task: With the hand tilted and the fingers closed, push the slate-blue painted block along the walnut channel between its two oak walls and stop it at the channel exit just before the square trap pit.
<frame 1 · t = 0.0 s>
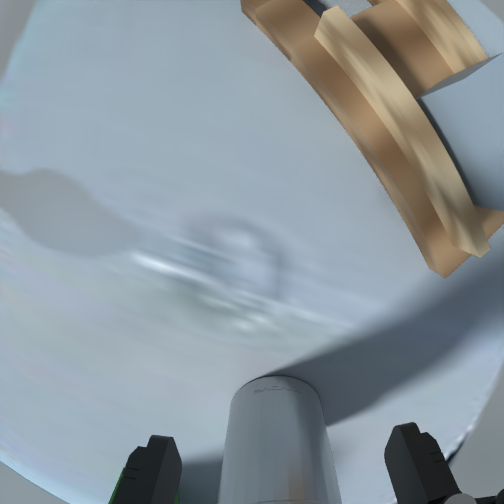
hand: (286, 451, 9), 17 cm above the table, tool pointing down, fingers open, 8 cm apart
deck: (406, 93, 22), on the table
block: (455, 139, 20), point 3 cm above the table, touching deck
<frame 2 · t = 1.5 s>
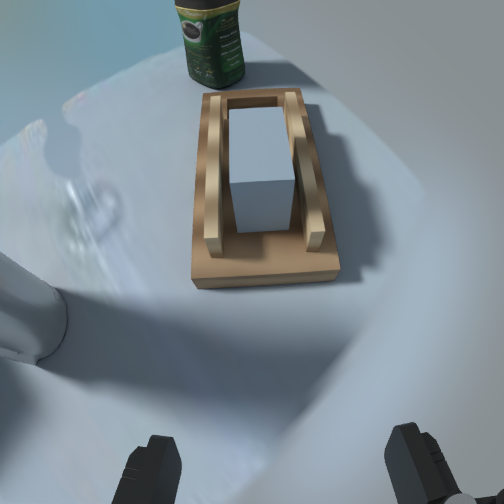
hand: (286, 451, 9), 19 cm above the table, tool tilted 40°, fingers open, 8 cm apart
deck: (258, 175, 38), on the table
coffee jar: (217, 76, 48), on the table
block: (260, 193, 33), point 3 cm above the table, touching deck
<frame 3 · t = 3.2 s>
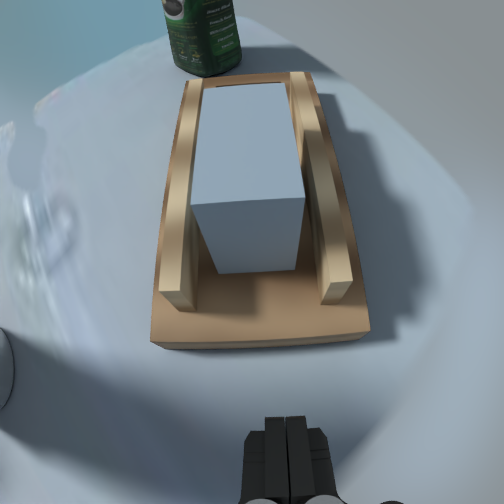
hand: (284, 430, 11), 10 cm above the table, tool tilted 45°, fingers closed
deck: (253, 185, 28), on the table
coffee jar: (208, 64, 38), on the table
block: (254, 213, 23), point 3 cm above the table, touching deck
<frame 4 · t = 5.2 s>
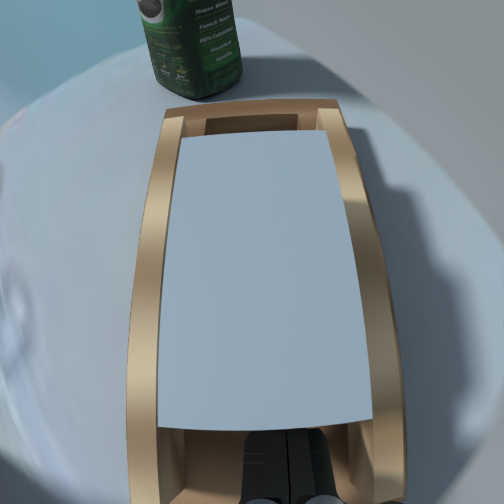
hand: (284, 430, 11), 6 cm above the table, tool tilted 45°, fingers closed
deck: (260, 279, 20), on the table
coffee jar: (199, 79, 30), on the table
block: (263, 322, 15), point 3 cm above the table, touching gripper
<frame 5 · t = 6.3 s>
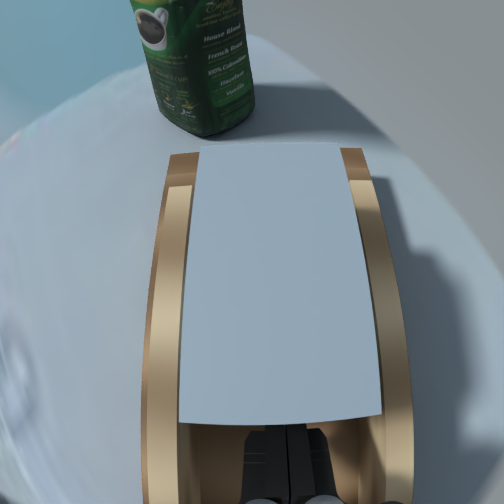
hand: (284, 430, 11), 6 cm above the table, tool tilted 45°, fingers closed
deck: (275, 361, 18), on the table
coffee jar: (206, 110, 29), on the table
block: (273, 326, 16), point 3 cm above the table, touching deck, gripper
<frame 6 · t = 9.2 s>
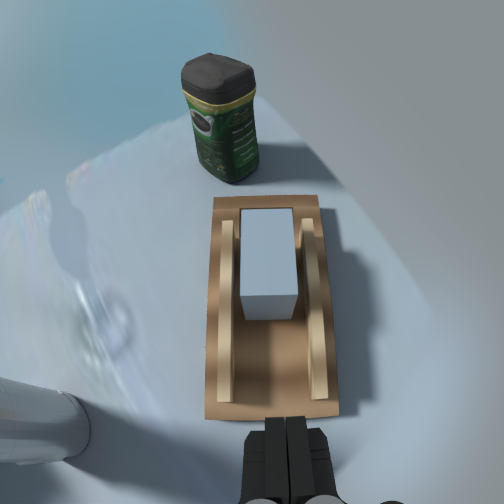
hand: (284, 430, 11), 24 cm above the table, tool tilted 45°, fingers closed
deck: (269, 303, 38), on the table
coffee jar: (229, 163, 49), on the table
block: (267, 282, 36), point 3 cm above the table, touching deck
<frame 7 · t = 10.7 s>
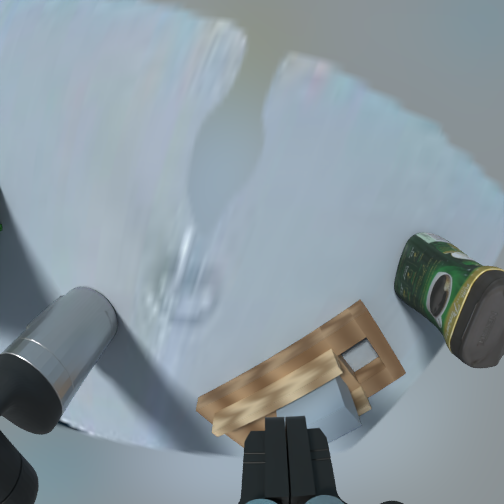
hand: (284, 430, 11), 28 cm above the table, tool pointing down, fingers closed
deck: (300, 384, 43), on the table
coffee jar: (419, 265, 38), on the table
block: (311, 392, 40), point 3 cm above the table, touching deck
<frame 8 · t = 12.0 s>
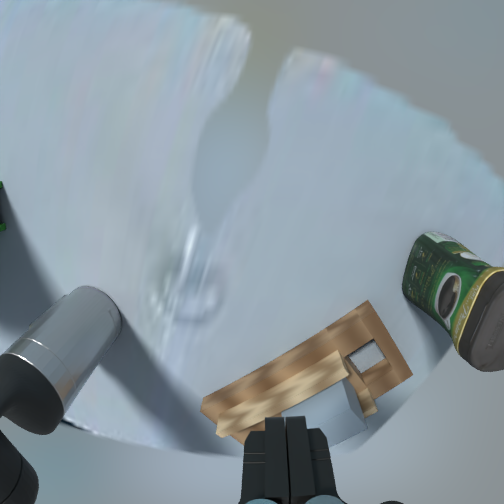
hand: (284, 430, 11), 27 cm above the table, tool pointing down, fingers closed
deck: (306, 385, 43), on the table
coffee jar: (427, 265, 37), on the table
block: (317, 393, 39), point 3 cm above the table, touching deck
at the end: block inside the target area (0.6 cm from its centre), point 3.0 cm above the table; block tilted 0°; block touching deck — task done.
